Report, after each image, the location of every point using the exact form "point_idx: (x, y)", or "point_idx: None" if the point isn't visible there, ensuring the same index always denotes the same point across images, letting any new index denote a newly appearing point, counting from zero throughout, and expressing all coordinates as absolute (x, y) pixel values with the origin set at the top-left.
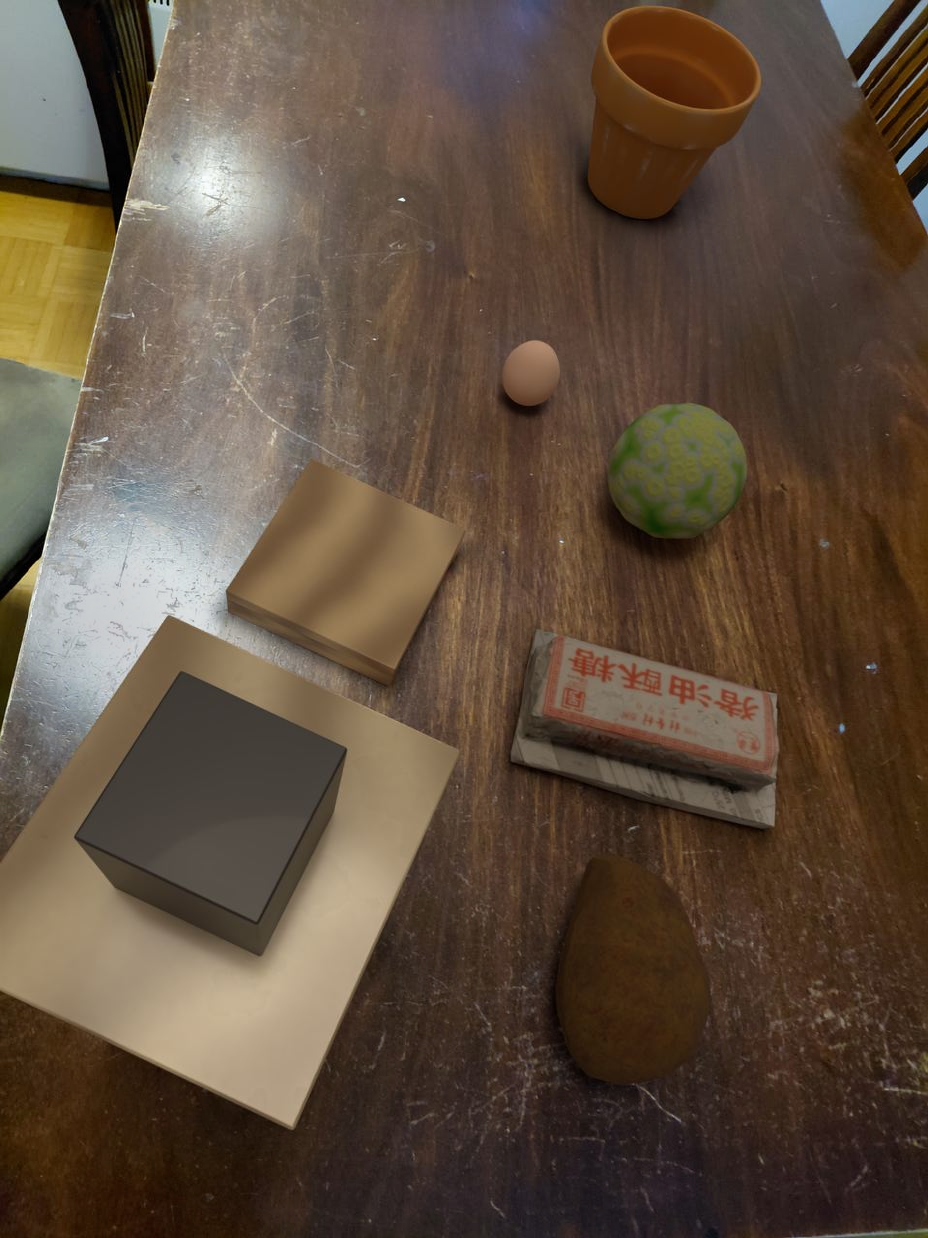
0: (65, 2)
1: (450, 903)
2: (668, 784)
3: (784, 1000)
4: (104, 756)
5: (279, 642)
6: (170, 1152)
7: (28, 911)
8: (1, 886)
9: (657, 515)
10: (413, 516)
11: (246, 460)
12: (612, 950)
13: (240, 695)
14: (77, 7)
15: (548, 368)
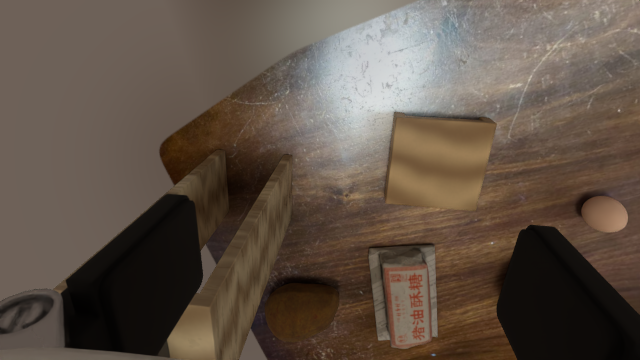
0: (499, 296)
1: (306, 240)
2: (380, 305)
3: (322, 342)
4: None
5: (387, 141)
6: None
7: None
8: None
9: None
10: (474, 185)
11: (493, 78)
12: (295, 315)
13: (194, 341)
14: (497, 306)
15: (604, 229)
